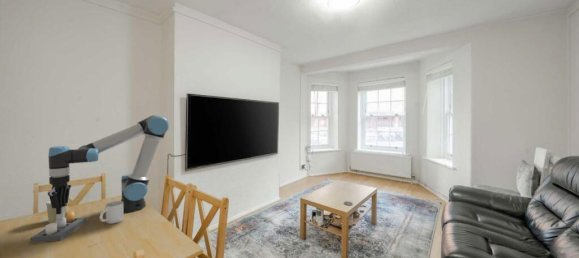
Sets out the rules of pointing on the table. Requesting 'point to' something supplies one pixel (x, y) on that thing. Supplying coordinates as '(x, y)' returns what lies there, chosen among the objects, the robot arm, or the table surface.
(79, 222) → the panel
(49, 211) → the coffee cup
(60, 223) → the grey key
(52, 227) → the white rounded block
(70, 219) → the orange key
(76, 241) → the table surface
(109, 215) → the mug
